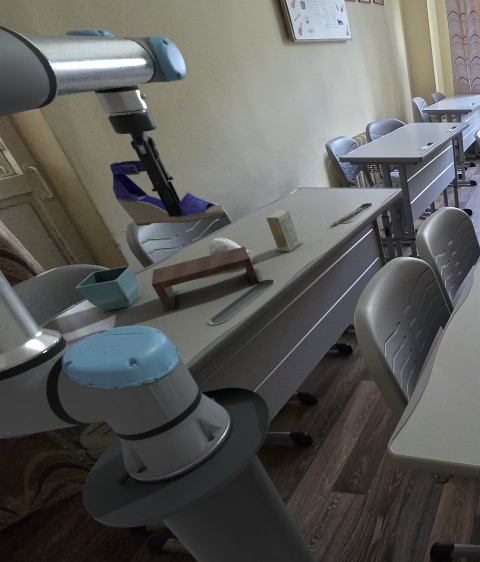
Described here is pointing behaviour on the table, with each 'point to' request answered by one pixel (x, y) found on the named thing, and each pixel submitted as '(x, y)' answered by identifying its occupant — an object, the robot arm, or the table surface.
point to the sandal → (154, 199)
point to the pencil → (346, 217)
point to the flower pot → (110, 288)
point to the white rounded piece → (225, 247)
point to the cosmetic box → (283, 230)
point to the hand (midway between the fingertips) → (176, 211)
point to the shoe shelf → (198, 272)
